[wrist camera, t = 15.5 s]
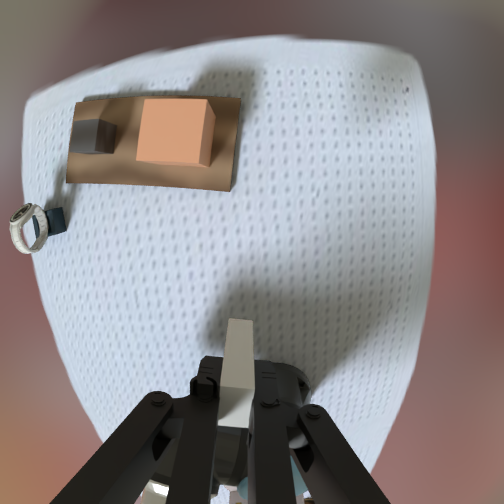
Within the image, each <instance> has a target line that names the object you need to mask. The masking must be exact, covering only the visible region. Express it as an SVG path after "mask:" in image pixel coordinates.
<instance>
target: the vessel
mask: <svg viewBox="0 0 504 504" xmlns="http://www.w3.org/2000/svg"><path fill="white" fill-rule="evenodd" d="M304 503H305V504H315V502H314V500H313V499H304Z"/></svg>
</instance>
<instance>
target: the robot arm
mask: <svg viewBox="0 0 504 504" xmlns="http://www.w3.org/2000/svg"><path fill="white" fill-rule="evenodd" d="M310 401H311V388H310V384H309V381H308V379H307V377H306V376H305V374H304V373H303V372H301V371H300V370H299V369H297V368H295V367H293V366H290V365H287V364H282V363H272V362H271V361H262V360H254V345H253V320H243V319H233V318H229V320H228V328H227V335H226V343H225V350H224V358H223V357H214V356H205V357H204V358H203V359H202V360H201V362H200V366H199V370H198V374H197V376H195V377H194V378H192V379H191V381H190V395H188V396H186V397H183V398H172V397H171V396H170V395H169V394H167V393H165V392H162V391H153V392H150V393H148V394H147V395H146V396H145V397H144V398H143V399H142V400H141V401H140V402H139V404H138V405H137V406H136V407H135V408H134V409H133V410H132V412H131V413H130V414H129V415H128V416H127V417H126V418H125V420H124V421H123V422H122V423H121V424H120V425H119V426H118V428H117V429H116V430H115V431H114V432H113V433H112V434H111V436H110V437H109V438H108V439H107V440H106V441H105V442H104V443H103V445H102V446H101V447H100V448H99V449H98V450H97V451H96V452H95V454H94V455H93V456H92V457H91V458H90V459H89V460H88V461H87V463H86V464H85V465H84V466H83V467H82V468H81V469H80V470H79V472H78V473H77V474H76V475H75V476H74V477H73V478H72V479H71V480H70V482H69V483H68V484H67V485H66V486H65V487H64V488H63V489H62V490H61V491H60V493H59V494H58V495H57V496H56V497H55V498H54V499H53V500H52V501H51V502H50V504H134V503H135V501H136V500H137V498H138V497H139V495H140V494H141V492H142V491H143V494H142V498H141V503H140V504H210V500H211V499H212V498H214V497H216V496H217V495H218V490H219V486H220V484H221V485H227V486H234V487H237V492H238V493H239V495H240V497H241V498H243V499H246V500H247V501H248V504H297V502H296V496H298V495H300V494H302V493H304V492H306V491H309V493H310V495H311V497H312V498H313V500H314V502H315V504H391V503H390V502H389V501H388V499H387V498H386V496H385V495H384V494H383V492H382V491H381V489H380V488H379V487H378V485H377V484H376V482H375V481H374V479H373V478H372V477H371V475H370V474H369V472H368V471H367V470H366V468H365V467H364V465H363V464H362V462H361V461H360V460H359V458H358V457H357V455H356V454H355V452H354V451H353V449H352V448H351V447H350V445H349V444H348V442H347V441H346V439H345V438H344V436H343V435H342V433H341V432H340V430H339V429H338V427H337V426H336V424H335V423H334V422H333V420H332V419H331V417H330V416H329V414H328V413H327V411H326V410H325V409H324V408H323V407H321V406H319V405H315V404H310ZM143 489H144V490H143Z"/></svg>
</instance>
